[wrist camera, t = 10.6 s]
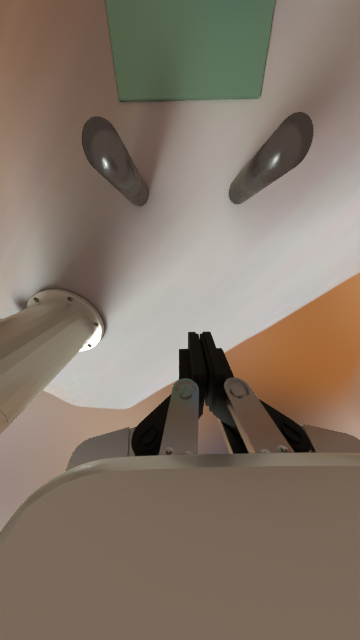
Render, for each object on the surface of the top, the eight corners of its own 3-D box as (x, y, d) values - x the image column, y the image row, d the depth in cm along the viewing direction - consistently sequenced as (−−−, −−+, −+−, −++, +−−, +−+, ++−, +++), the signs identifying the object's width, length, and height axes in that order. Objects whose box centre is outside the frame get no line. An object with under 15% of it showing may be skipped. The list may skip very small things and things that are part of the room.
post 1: (129, 206, 18) (89, 174, 10) (125, 179, 16) (75, 117, 9) (149, 206, 18) (125, 174, 10) (146, 178, 16) (117, 116, 9)
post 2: (227, 204, 18) (266, 170, 10) (230, 176, 16) (278, 112, 9) (247, 204, 18) (303, 170, 10) (252, 176, 16) (320, 111, 9)
